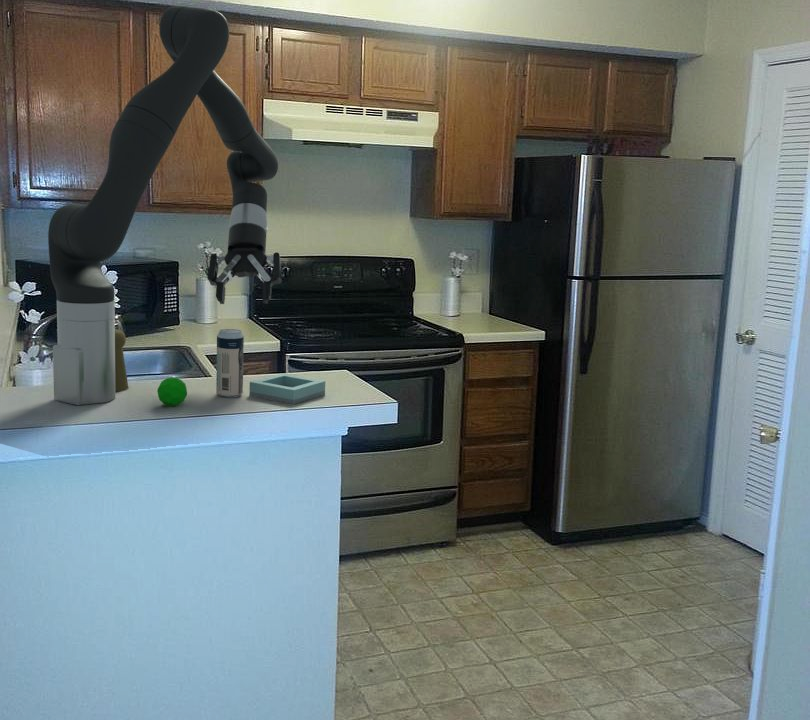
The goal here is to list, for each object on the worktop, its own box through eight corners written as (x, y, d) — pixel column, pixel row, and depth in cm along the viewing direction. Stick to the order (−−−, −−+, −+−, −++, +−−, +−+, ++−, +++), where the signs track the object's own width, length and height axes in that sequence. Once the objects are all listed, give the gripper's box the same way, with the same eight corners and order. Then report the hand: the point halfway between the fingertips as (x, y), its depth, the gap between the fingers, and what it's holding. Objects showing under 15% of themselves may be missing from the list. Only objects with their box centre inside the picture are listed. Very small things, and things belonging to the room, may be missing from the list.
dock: (293, 404, 149) (294, 390, 148) (249, 395, 153) (249, 381, 153) (324, 394, 157) (325, 381, 157) (282, 386, 162) (282, 373, 161)
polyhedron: (152, 407, 141) (152, 380, 141) (164, 400, 146) (164, 374, 145) (181, 409, 141) (181, 382, 140) (191, 403, 146) (191, 376, 145)
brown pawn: (134, 385, 156) (133, 328, 154) (120, 393, 150) (119, 333, 148) (103, 383, 156) (102, 325, 154) (87, 390, 150) (86, 330, 148)
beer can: (247, 396, 152) (248, 332, 150) (223, 399, 150) (223, 333, 147) (235, 391, 156) (236, 328, 154) (212, 393, 153) (212, 329, 151)
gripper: (208, 221, 166) (202, 293, 159) (280, 220, 166) (276, 292, 159) (216, 241, 172) (211, 311, 166) (285, 240, 173) (282, 310, 166)
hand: (243, 302), depth 163 cm, fingers open, 8 cm apart
